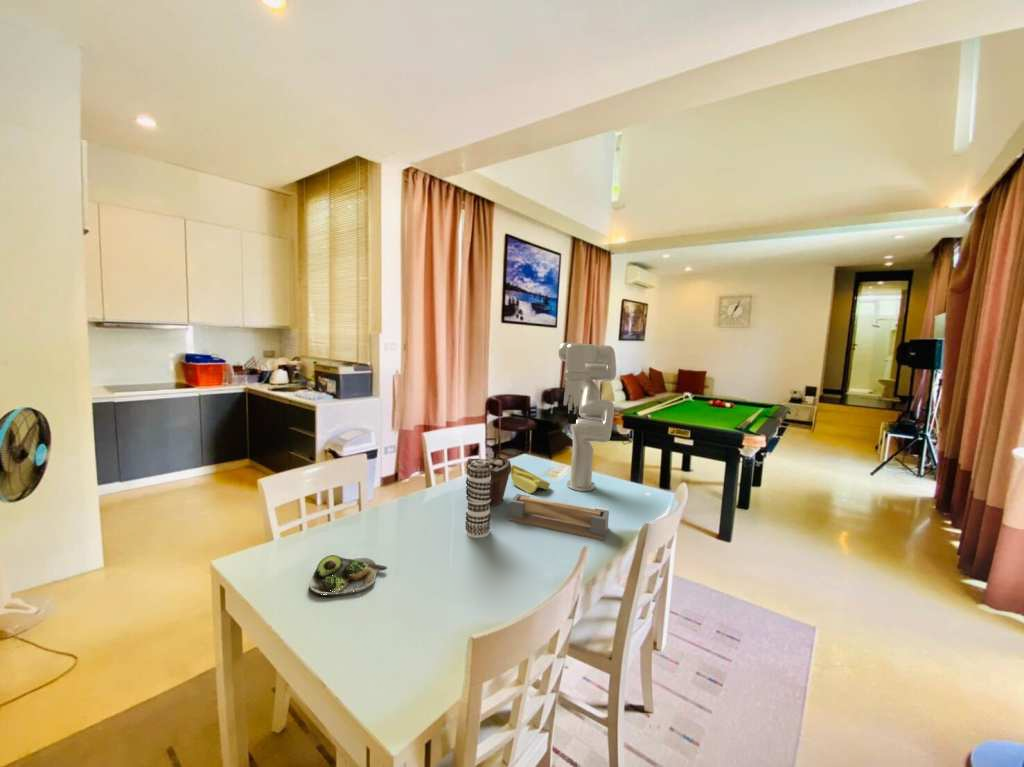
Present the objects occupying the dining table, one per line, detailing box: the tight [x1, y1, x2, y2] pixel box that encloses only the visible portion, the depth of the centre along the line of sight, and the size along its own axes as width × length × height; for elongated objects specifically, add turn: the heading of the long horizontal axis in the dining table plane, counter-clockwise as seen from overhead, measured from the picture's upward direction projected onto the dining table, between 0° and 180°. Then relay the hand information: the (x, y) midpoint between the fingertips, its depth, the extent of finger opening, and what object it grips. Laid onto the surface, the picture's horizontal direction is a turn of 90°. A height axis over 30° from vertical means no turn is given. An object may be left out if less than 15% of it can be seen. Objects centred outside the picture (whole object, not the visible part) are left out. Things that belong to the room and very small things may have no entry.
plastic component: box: [510, 464, 551, 495], centre depth 191 cm, size 20×7×10 cm
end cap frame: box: [508, 493, 610, 541], centre depth 153 cm, size 10×35×7 cm, turn 69°
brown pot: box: [465, 457, 512, 507], centre depth 172 cm, size 18×20×18 cm
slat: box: [519, 496, 601, 526], centre depth 153 cm, size 3×30×5 cm, turn 70°
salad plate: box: [308, 554, 388, 598], centre depth 116 cm, size 19×18×5 cm
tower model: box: [465, 460, 493, 539], centre depth 143 cm, size 9×9×25 cm
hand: (571, 423), depth 162 cm, fingers closed
